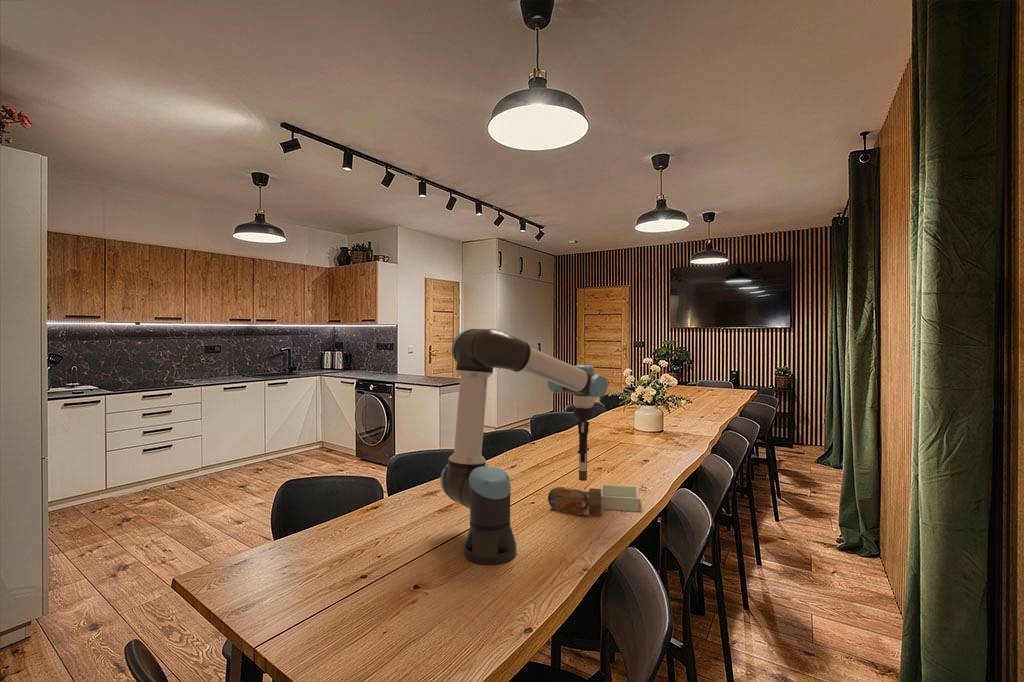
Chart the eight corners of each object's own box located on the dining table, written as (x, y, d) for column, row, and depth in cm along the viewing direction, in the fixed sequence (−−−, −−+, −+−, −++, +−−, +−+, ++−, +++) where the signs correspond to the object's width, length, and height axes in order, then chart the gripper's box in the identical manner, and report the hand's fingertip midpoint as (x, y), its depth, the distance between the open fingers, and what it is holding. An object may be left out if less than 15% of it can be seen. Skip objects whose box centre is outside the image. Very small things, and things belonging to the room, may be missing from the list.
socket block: (595, 506, 173) (595, 498, 173) (570, 504, 175) (570, 496, 175) (596, 498, 182) (596, 490, 182) (572, 496, 184) (572, 488, 184)
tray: (638, 511, 168) (638, 498, 168) (600, 508, 171) (600, 496, 171) (637, 498, 181) (637, 486, 181) (601, 496, 184) (601, 484, 184)
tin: (547, 509, 171) (547, 486, 171) (551, 506, 173) (551, 483, 173) (586, 518, 163) (586, 493, 163) (590, 514, 165) (590, 490, 165)
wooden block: (600, 515, 164) (600, 492, 164) (589, 514, 165) (588, 492, 165) (600, 511, 168) (600, 488, 168) (589, 510, 169) (589, 488, 169)
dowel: (586, 481, 176) (587, 448, 176) (578, 480, 177) (578, 448, 177) (587, 478, 179) (587, 446, 179) (579, 478, 180) (579, 446, 180)
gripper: (593, 410, 169) (592, 476, 170) (594, 404, 185) (594, 464, 185) (571, 409, 171) (571, 474, 171) (575, 403, 186) (574, 463, 186)
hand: (583, 469), depth 178 cm, fingers closed on dowel, 2 cm apart
